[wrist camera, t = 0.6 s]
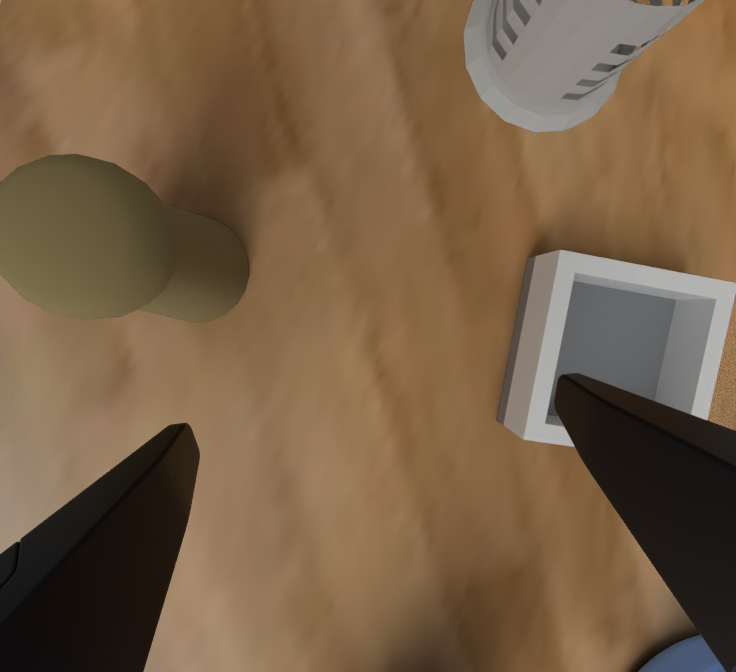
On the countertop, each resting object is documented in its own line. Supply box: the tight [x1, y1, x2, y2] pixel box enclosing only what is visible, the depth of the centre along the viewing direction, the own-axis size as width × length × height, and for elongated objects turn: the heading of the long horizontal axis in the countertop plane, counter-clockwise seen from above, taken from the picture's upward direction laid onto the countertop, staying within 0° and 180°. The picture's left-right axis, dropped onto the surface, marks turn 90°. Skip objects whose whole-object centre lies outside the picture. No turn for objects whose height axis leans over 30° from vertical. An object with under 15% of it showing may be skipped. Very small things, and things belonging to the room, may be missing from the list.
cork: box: [0, 154, 249, 322], centre depth 17 cm, size 6×6×11 cm
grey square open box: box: [497, 250, 736, 447], centre depth 22 cm, size 10×10×4 cm
